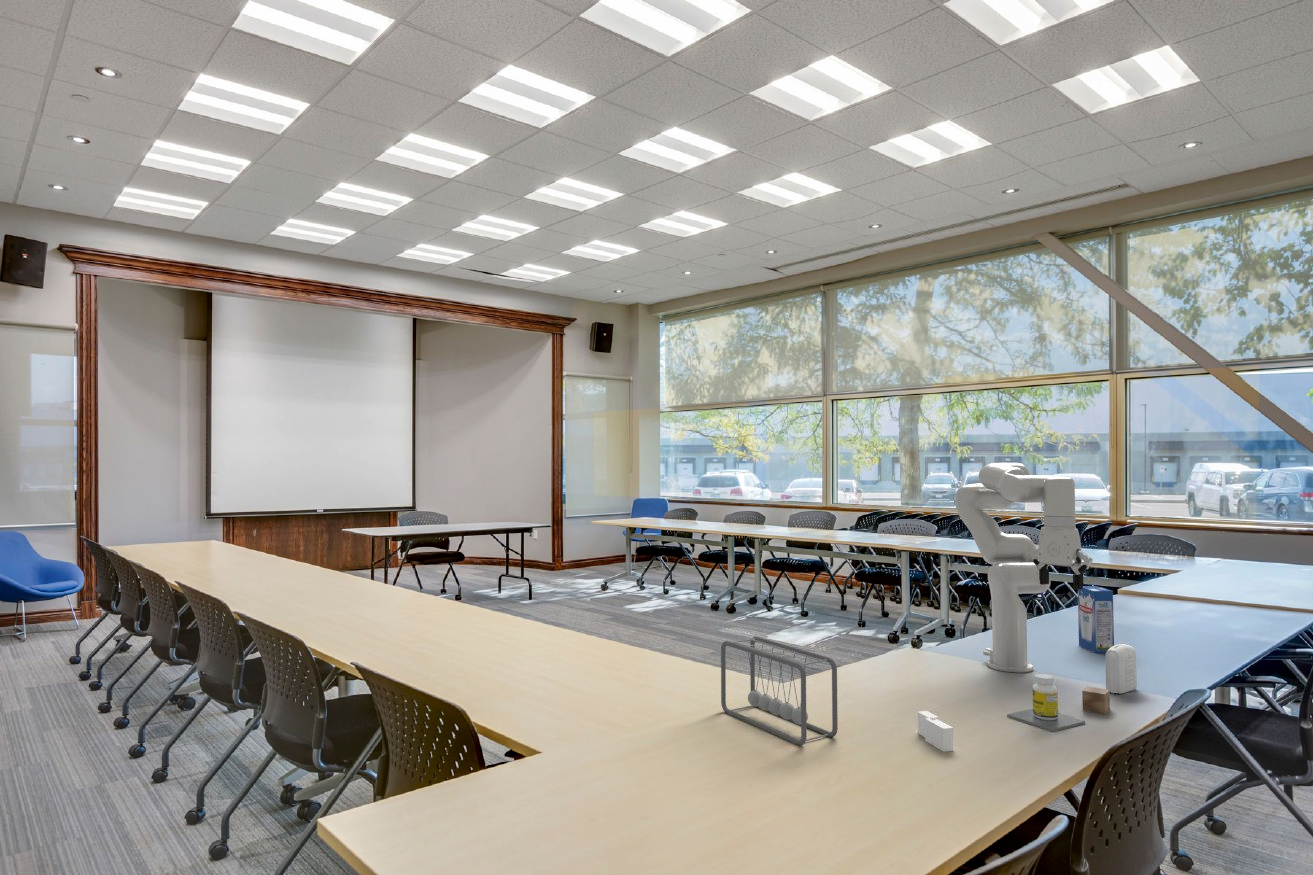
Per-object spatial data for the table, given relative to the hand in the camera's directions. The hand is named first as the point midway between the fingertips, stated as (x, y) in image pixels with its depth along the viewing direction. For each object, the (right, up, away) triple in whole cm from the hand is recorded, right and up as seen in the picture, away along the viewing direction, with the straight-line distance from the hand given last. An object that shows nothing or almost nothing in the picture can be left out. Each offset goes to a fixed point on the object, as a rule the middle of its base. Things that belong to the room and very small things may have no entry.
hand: (1061, 586), depth 208 cm
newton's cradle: (-80, -28, -25) cm, 89 cm away
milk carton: (+37, -30, +48) cm, 67 cm away
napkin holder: (-47, -28, -36) cm, 65 cm away
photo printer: (+17, -29, +1) cm, 33 cm away
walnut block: (+1, -28, -15) cm, 32 cm away
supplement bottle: (-16, -27, -23) cm, 39 cm away
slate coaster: (-16, -28, -23) cm, 39 cm away
